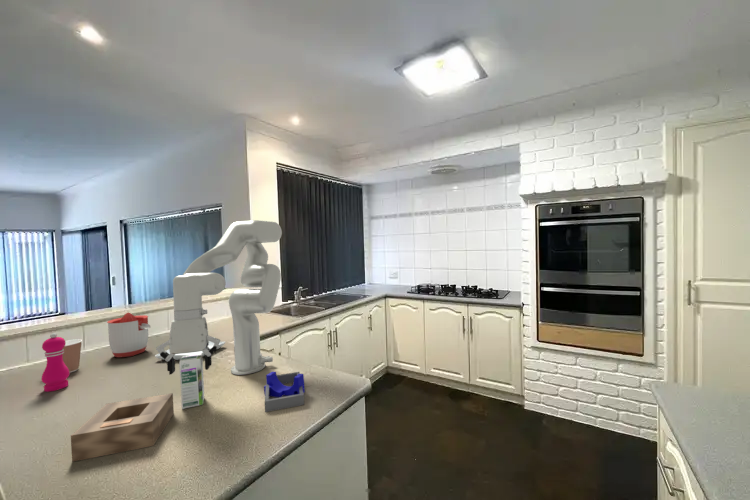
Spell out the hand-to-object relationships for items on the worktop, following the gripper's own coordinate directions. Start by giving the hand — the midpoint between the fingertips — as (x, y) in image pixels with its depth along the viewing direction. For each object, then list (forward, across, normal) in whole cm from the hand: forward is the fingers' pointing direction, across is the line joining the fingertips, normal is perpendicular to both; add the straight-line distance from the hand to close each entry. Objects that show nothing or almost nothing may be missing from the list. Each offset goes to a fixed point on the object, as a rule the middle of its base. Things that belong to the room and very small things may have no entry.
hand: (190, 370), depth 98 cm
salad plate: (+10, +12, -57) cm, 59 cm away
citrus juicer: (+10, +42, -71) cm, 83 cm away
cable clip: (+10, -28, +4) cm, 30 cm away
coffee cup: (+10, +58, -55) cm, 81 cm away
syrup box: (+11, 0, -1) cm, 11 cm away
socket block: (+11, +12, +12) cm, 20 cm away
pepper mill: (+10, +52, -35) cm, 63 cm away
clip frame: (+10, -27, +4) cm, 30 cm away
